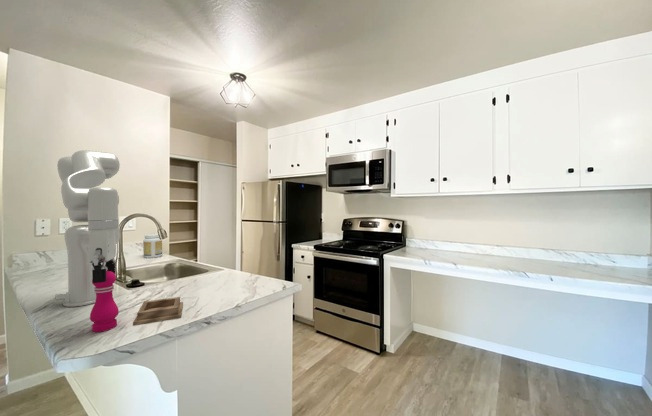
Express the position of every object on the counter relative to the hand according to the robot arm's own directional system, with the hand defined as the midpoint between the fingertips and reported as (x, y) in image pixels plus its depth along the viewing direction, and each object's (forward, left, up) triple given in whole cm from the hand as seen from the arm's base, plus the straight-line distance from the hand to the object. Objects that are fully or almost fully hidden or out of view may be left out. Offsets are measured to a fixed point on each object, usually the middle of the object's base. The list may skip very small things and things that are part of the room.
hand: (104, 278), depth 87 cm
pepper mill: (0, +1, -16) cm, 16 cm away
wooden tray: (+15, +6, -16) cm, 23 cm away
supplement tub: (-4, +133, -16) cm, 134 cm away
